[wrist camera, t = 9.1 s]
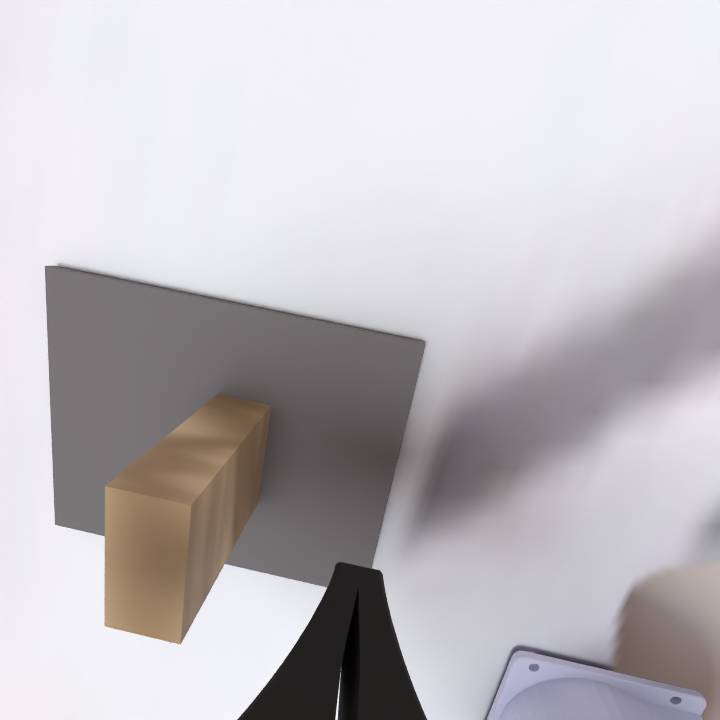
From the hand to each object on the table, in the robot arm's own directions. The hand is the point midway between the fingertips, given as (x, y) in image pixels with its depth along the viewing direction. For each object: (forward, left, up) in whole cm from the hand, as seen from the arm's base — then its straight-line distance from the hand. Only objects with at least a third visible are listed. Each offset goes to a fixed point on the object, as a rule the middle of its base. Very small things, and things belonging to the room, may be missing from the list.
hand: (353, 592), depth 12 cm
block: (+6, 0, -6) cm, 9 cm away
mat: (+7, 0, -7) cm, 10 cm away
